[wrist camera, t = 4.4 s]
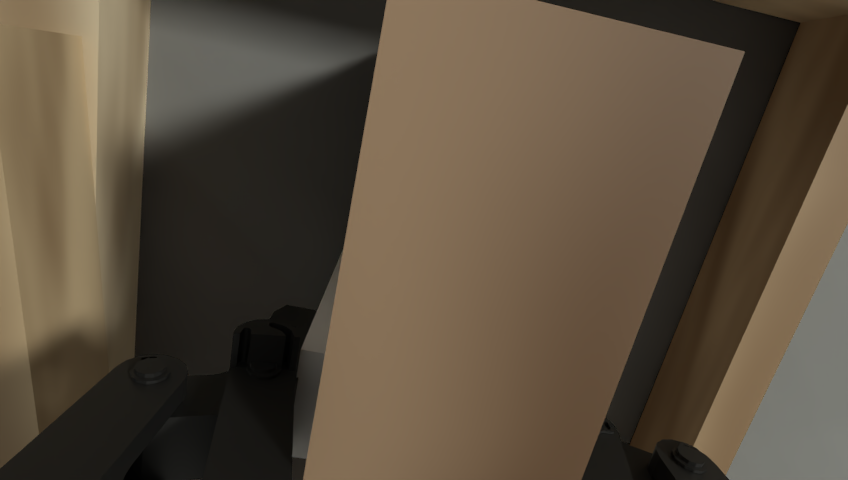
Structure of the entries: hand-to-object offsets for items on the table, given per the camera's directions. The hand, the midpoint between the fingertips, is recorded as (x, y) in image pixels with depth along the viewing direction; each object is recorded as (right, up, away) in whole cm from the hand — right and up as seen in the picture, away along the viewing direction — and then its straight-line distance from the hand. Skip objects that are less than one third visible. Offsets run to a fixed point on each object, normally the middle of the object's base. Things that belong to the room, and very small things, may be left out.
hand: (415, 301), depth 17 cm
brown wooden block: (0, 0, 0) cm, 0 cm away
